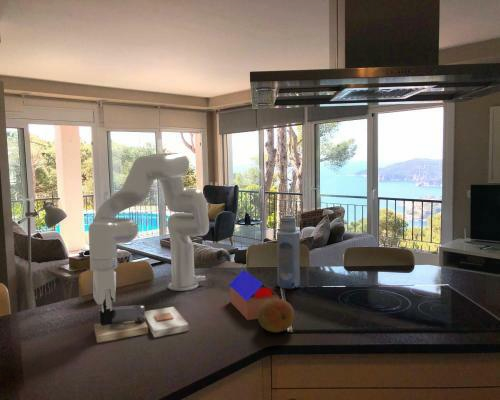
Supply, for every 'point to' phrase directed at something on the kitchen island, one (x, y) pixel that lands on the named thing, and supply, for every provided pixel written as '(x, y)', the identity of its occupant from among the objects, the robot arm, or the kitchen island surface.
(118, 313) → the bar
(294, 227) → the bottle
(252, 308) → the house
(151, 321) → the door and jamb
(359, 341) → the kitchen island surface
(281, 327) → the fruit
